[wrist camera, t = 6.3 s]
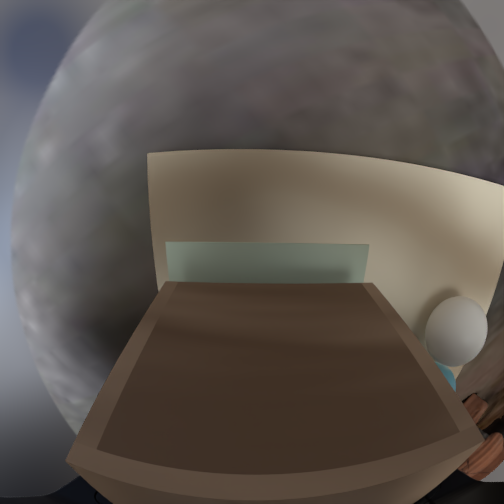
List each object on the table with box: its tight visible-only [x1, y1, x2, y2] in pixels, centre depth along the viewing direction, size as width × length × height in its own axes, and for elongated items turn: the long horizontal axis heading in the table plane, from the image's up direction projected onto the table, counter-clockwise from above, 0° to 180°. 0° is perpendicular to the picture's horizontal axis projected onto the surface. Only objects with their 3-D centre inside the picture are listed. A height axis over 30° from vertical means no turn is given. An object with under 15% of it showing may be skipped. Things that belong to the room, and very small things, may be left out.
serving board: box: [147, 149, 504, 380], centre depth 12 cm, size 19×16×1 cm
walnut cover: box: [66, 281, 485, 504], centre depth 6 cm, size 9×6×7 cm
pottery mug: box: [457, 393, 504, 481], centre depth 14 cm, size 12×9×8 cm
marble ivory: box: [425, 296, 487, 367], centre depth 9 cm, size 3×3×3 cm
